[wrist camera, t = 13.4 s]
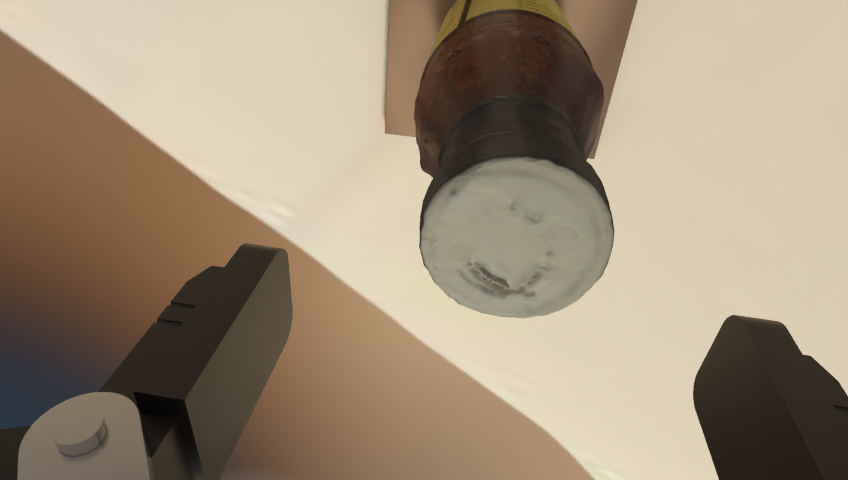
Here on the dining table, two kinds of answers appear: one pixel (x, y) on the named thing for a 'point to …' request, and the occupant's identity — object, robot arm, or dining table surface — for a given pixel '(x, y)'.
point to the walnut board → (420, 24)
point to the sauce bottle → (511, 160)
